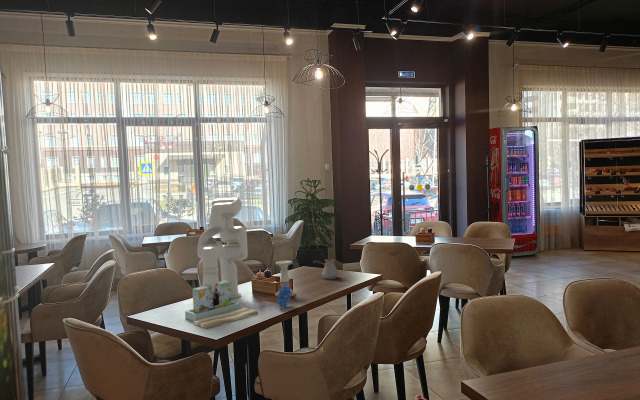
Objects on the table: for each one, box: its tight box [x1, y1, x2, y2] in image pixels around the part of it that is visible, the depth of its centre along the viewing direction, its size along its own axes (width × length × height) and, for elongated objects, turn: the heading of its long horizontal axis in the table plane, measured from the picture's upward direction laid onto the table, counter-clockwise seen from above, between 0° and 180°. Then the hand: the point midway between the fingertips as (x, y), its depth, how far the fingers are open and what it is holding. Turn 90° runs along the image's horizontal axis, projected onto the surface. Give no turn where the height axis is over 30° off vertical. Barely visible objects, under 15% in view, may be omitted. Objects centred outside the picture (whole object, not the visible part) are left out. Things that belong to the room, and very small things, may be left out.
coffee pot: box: [313, 258, 339, 280], centre depth 314 cm, size 21×12×15 cm, turn 137°
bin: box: [184, 300, 241, 323], centre depth 242 cm, size 11×26×4 cm, turn 133°
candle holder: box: [274, 259, 297, 298], centre depth 276 cm, size 12×12×20 cm
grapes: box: [276, 284, 292, 309], centre depth 250 cm, size 12×7×12 cm, turn 146°
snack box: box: [191, 280, 232, 314], centre depth 243 cm, size 21×6×15 cm, turn 142°
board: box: [193, 307, 259, 329], centre depth 233 cm, size 12×30×2 cm, turn 133°
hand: (212, 303), depth 243 cm, fingers closed on snack box, 6 cm apart
